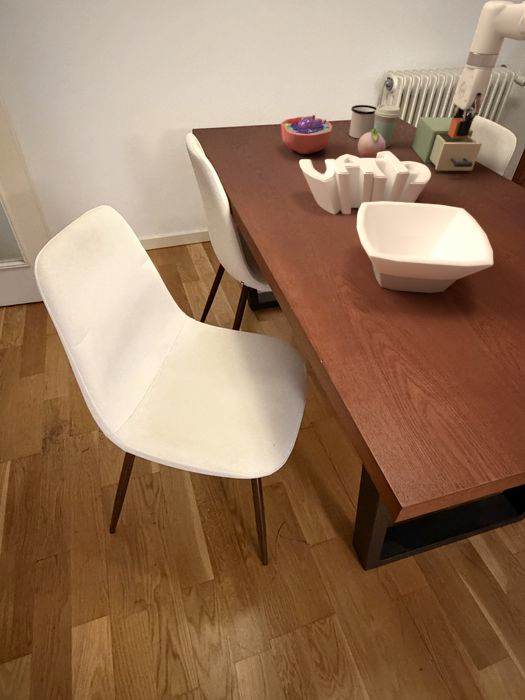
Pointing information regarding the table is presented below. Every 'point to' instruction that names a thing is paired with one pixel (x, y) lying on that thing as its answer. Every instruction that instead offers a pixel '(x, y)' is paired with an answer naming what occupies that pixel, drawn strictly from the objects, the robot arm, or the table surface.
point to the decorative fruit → (371, 144)
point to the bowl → (421, 244)
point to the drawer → (453, 152)
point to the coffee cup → (386, 121)
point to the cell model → (305, 134)
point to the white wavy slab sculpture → (364, 181)
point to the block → (455, 128)
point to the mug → (361, 120)
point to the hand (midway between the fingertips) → (458, 132)
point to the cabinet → (430, 134)
